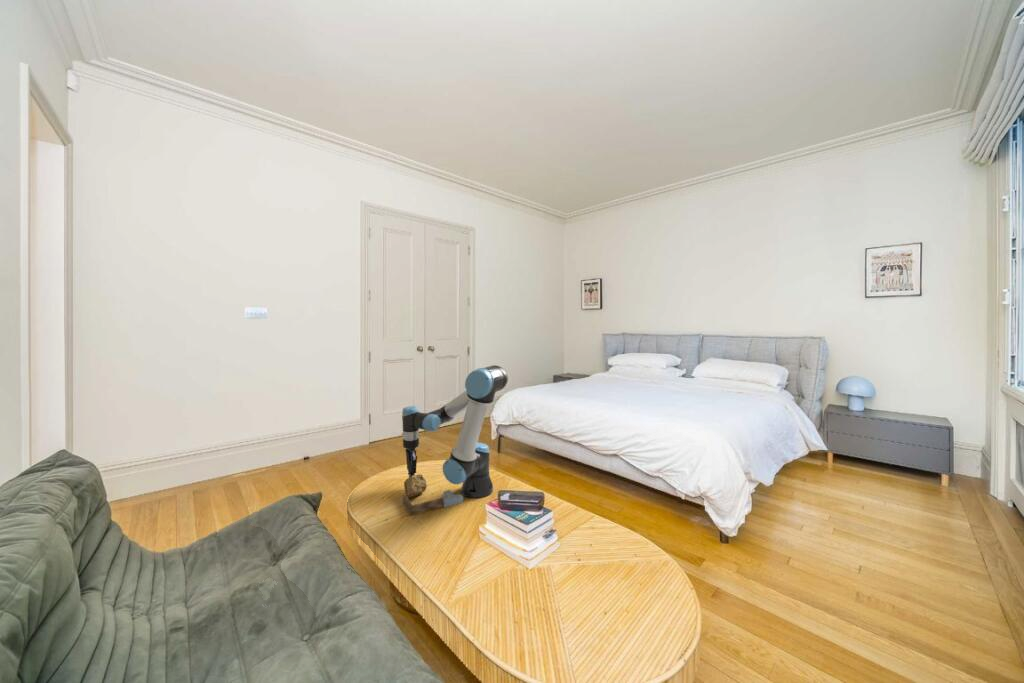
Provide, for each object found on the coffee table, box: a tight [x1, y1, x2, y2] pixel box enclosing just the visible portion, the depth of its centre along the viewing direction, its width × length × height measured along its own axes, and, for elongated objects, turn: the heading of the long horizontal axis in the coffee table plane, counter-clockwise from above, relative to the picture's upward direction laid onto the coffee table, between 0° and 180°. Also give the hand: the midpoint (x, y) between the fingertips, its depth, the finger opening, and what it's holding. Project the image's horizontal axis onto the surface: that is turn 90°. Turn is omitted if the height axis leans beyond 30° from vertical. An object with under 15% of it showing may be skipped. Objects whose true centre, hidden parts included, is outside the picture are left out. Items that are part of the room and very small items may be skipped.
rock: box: [403, 473, 428, 499], centre depth 185 cm, size 12×10×10 cm
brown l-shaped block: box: [402, 494, 444, 516], centre depth 176 cm, size 15×12×4 cm
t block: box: [442, 489, 464, 508], centre depth 180 cm, size 9×9×3 cm
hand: (411, 485), depth 192 cm, fingers closed
